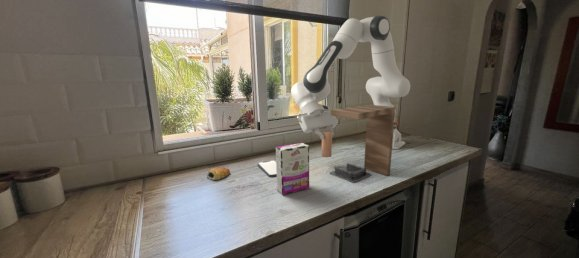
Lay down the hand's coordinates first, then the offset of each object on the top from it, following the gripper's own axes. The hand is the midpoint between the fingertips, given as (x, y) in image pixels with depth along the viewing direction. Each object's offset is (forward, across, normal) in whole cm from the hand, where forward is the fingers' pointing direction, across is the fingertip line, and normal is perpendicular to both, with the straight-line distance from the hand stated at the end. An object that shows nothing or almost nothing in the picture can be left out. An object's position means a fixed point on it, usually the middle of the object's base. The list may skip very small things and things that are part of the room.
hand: (328, 136), depth 113 cm
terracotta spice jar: (+6, 0, +7) cm, 9 cm away
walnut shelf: (+22, 0, -3) cm, 22 cm away
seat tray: (+19, 0, +1) cm, 19 cm away
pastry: (-5, -42, +25) cm, 50 cm away
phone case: (+1, -21, +20) cm, 29 cm away
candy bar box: (+15, -27, +4) cm, 31 cm away
